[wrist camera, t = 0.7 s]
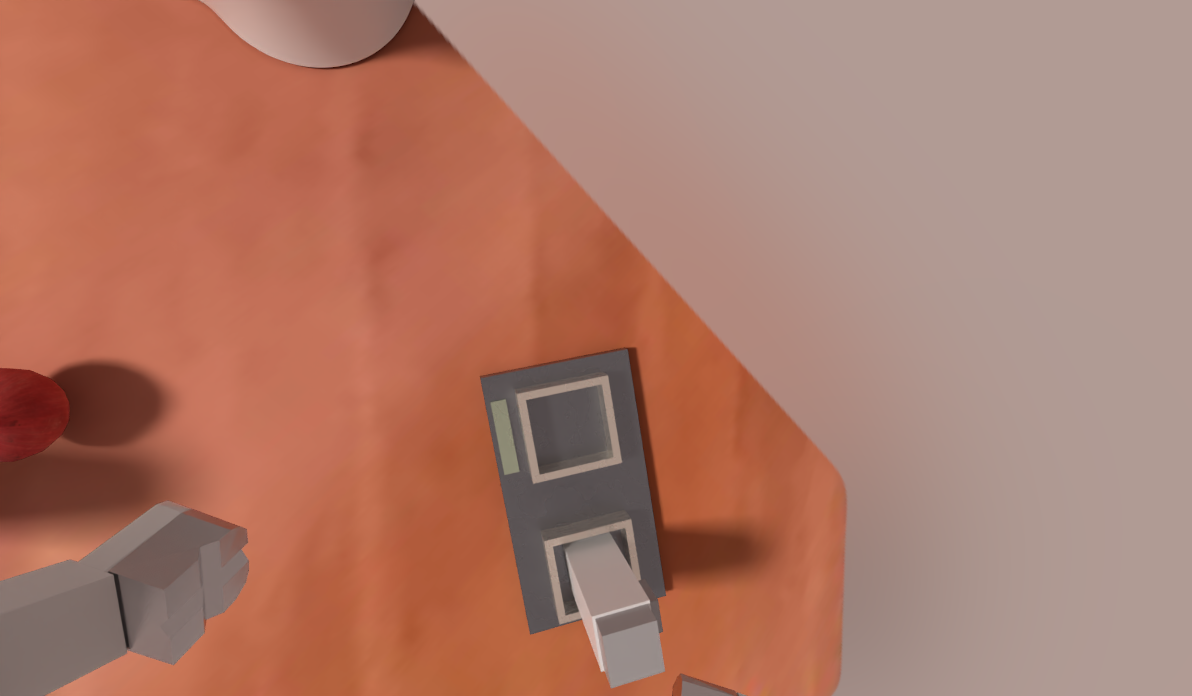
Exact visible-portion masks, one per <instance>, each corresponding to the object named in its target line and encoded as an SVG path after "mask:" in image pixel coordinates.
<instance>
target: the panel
mask: <svg viewBox="0 0 1192 696" xmlns="http://www.w3.org/2000/svg"><path fill="white" fill-rule="evenodd" d="M480 379H481V384H482V389H483V394H484V400H485V405H486V410H487V415H488V420H489V425H490V430H491V435H492V441H493V446H494V451H495V456H496V461H497V466H498V471H499V477H500V482H501V487H502V492H503V497H504V502H505V507H506V512H507V518H508V523H509V528H510V533H511V538H512V543H513V548H514V553H515V559H516V564H517V569H518V574H519V579H520V584H521V589H522V595H523V600H524V605H525V610H526V615H527V620H528V625H529V630H530V634H534V633H537V632H541V631H544V630H548V629H551V628H555V627H558V626H562V625H565V624H569V623H572V622H576V621H579V620H582V617H581V615H580V612H579V609H578V606H577V604H576V601H575V598H574V595H573V593H572V590H571V586H570V580H569V575H568V569H567V564H566V558H565V552H564V547H563V544H566V543H570V542H574V541H578V540H581V539H585V538H589V537H593V536H597V535H601V534H604V533H608V532H610V534H611V536H612V538H613V539H614V541H615V543H616V544H617V546H618V548H619V549H620V551H621V553H622V554H623V556H624V558H625V559H626V561H627V563H628V564H629V566H630V568H631V570H632V571H633V573H634V575H635V576H636V578H637V580H638V581H639V580H642V579H645V580H646V582H647V583H648V585H649V586H650V588H651V590H652V591H653V593H654V595H655V596H656V598H659V597H663V596H666V593H665V586H664V580H663V573H662V567H661V561H660V554H659V548H658V541H657V535H656V529H655V522H654V516H653V509H652V503H651V496H650V490H649V484H648V477H647V471H646V464H645V458H644V451H643V445H642V439H641V432H640V426H639V419H638V413H637V406H636V400H635V394H634V387H633V381H632V374H631V368H630V361H629V355H628V349H626V348H620V349H615V350H610V351H605V352H600V353H595V354H590V355H584V356H579V357H574V358H569V359H564V360H559V361H554V362H549V363H544V364H539V365H534V366H529V367H524V368H519V369H514V370H508V371H503V372H498V373H493V374H488V375H483V376H480Z"/></svg>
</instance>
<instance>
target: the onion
mask: <svg viewBox="0 0 1192 696" xmlns="http://www.w3.org/2000/svg"><path fill="white" fill-rule="evenodd" d="M69 408H70V403H69V401H68V399H67V397H66V394H65V392H64V390H63V389H61V388H60V387H59V386H58V385H57V384H56V383H55V382H54V381H53V380H51V379H50V378H48V377H45V376H43V375H40V374H38V373H36V372H33V371H31V370H22V369H9V368H0V462H14V461H17V460H20V459H23V458H26V457H29V456H31V455H34V454H36V453H39V452H42V451H43V450H45V449H46V448H47V447H48V446H49V445H50V444H52V443H53V442H54V441H55V440H56V439H57V438H58V437H60V436H61V435H62V434H63V432H64V430H65V428H66V426H67V424H68V422H69Z"/></svg>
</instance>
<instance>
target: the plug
mask: <svg viewBox="0 0 1192 696" xmlns="http://www.w3.org/2000/svg"><path fill="white" fill-rule="evenodd" d="M563 547H564V552H565V558H566V564H567V569H568V575H569V580H570V586H571V590H572V593H573V595H574V598H575V601H576V604H577V606H578V609H579V612H580V615H581V617H582V620H583V623H584V626H585V628H586V631H587V634H588V637H589V639H590V642H591V645H592V648H593V650H594V653H595V656H596V659H597V661H598V664H599V667H600V670H601V672H603V671H605V673H606V676H607V678H608V681H609V684H610V686H611V688H614V687H617V686H620V685H623V684H626V683H630V682H633V681H636V680H639V679H642V678H646V677H649V676H652V675H655V674H658V673H662V672H665V668H664V662H663V655H662V649H661V643H660V637H659V633H661V632H663V629H662V623H661V616H660V610H659V604H658V599H657V598H656V596H655V595H654V593H653V591H652V590H651V588H650V586H649V585H648V583H647V582H646V580H645V579H642V580H639V581H638V580H637V578H636V576H635V575H634V573H633V571H632V570H631V568H630V566H629V564H628V563H627V561H626V559H625V558H624V556H623V554H622V553H621V551H620V549H619V548H618V546H617V544H616V543H615V541H614V539H613V538H612V536H611V534H610V532H608V533H604V534H601V535H597V536H593V537H589V538H585V539H581V540H578V541H574V542H570V543H566V544H563Z"/></svg>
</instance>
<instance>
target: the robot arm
mask: <svg viewBox="0 0 1192 696" xmlns="http://www.w3.org/2000/svg"><path fill="white" fill-rule="evenodd" d="M199 1H201V2H203V3H205V4H206V5H207V6H209V7H210V8H211V9H212V10H213V11H214V12H215V13H216V14H217V15H218V16H219V17H220V18H221V19H222V20H223V21H224V22H225V23H226V24H227V25H228V26H229V27H230V28H231V29H232V30H233V31H234V32H235V33H236V34H237V35H238V36H240V37H241V38H242V39H243V40H245V41H246V42H247V43H249V44H250V45H252V46H253V47H255V48H256V49H258V50H260V51H262V52H263V53H265V54H267V55H269V56H272V57H274V58H276V59H279V60H282V61H284V62H288V63H291V64H295V65H300V66H306V67H318V68H326V67H337V66H343V65H347V64H351V63H354V62H357V61H360V60H362V59H364V58H366V57H368V56H370V55H372V54H374V53H375V52H377V51H378V50H380V49H381V48H382V47H384V46H385V45H386V44H387V43H388V42H389V41H390V40H391V39H392V38H393V37H394V36H395V35H396V34H397V32H398V31H399V30H400V28H401V27H402V25H403V24H404V22H405V20H406V18H407V16H408V14H409V12H410V10H411V7H412V5H413V3H414V0H199ZM247 543H248V538H247V529H245V528H243V527H240V526H237V525H235V524H232V523H229V522H227V521H224V520H221V519H218V518H216V517H213V516H210V515H208V514H205V513H202V512H199V511H197V510H194V509H191V508H188V507H186V506H183V505H180V504H177V503H174V502H171V501H165V502H162V503H159V504H156V505H155V506H153V507H152V508H151V509H149V510H148V511H146V512H145V513H144V514H142V515H141V516H140V517H138V518H137V519H136V520H134V521H133V522H132V523H130V524H129V525H127V526H126V527H125V528H123V529H122V530H121V531H119V532H118V533H117V534H115V535H114V536H112V537H111V538H110V539H108V540H107V541H106V542H104V543H103V544H102V545H100V546H99V547H98V548H96V549H95V550H93V551H92V552H91V553H89V554H88V555H87V556H85V557H84V558H83V559H81V560H80V561H79V562H77V561H74V560H67V561H64V562H60V563H57V564H54V565H51V566H48V567H44V568H41V569H38V570H35V571H32V572H28V573H25V574H22V575H19V576H15V577H12V578H9V579H6V580H3V581H0V696H45V695H47V694H49V693H51V692H53V691H55V690H57V689H58V688H60V687H62V686H64V685H66V684H68V683H70V682H72V681H74V680H76V679H78V678H80V677H82V676H84V675H86V674H88V673H90V672H92V671H94V670H96V669H97V668H99V667H101V666H103V665H105V664H107V663H109V662H111V661H113V660H115V659H117V658H119V657H121V656H123V655H125V654H126V653H127V650H129V651H132V652H135V653H138V654H141V655H144V656H147V657H150V658H153V659H156V660H159V661H162V662H166V663H169V664H172V665H174V664H175V663H176V662H177V661H178V660H179V659H180V658H181V657H182V656H183V655H184V654H185V653H186V652H187V651H188V650H189V649H190V648H191V646H192V645H193V644H194V643H195V642H196V641H197V640H198V639H199V638H200V637H201V636H202V635H203V634H204V633H205V626H206V620H207V619H209V618H211V617H214V616H216V615H218V614H221V613H223V612H225V611H226V609H227V608H228V607H229V606H230V605H231V604H232V603H233V602H234V601H235V600H236V598H237V597H238V595H239V593H240V591H241V590H242V588H243V586H244V585H245V583H246V579H247V576H248V572H249V560H248V559H247V557H246V556H245V554H244V553H243V551H242V550H241V549H242V548H243V547H244V546H245V545H246V544H247ZM672 696H746V695H743V694H740V693H736V692H735V691H734V690H731V689H728V688H724V687H721V686H718V685H715V684H712V683H709V682H706V681H703V680H699V679H696V678H693V677H690V676H687V675H684V674H680V675H679V676H678V677H677V679H676V681H675V683H674V685H673V691H672Z"/></svg>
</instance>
